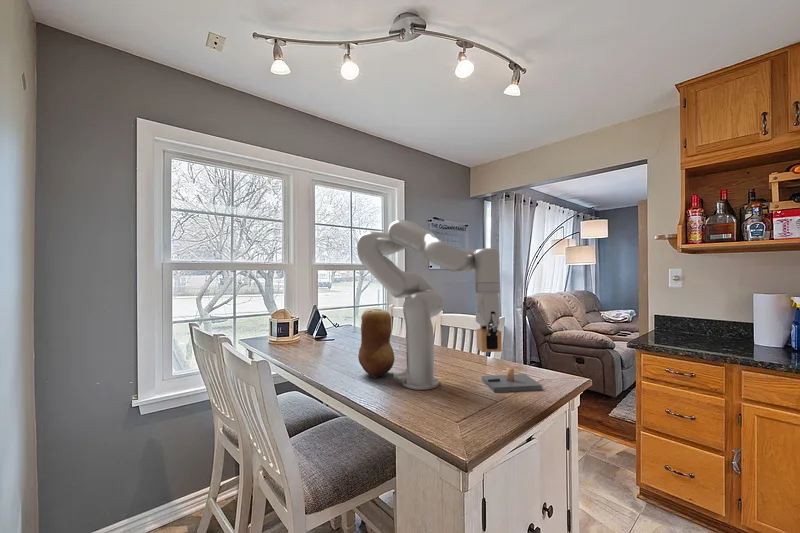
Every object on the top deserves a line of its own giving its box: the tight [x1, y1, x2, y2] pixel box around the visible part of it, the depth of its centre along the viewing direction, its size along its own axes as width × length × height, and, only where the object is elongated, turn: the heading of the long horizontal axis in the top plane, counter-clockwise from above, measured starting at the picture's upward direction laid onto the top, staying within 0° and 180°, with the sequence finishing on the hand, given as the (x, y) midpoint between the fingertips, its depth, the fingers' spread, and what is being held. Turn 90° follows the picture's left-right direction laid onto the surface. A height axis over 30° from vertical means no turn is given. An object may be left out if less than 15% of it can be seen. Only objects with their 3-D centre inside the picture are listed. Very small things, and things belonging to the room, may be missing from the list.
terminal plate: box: [481, 367, 543, 393], centre depth 119 cm, size 16×12×6 cm
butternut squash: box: [358, 308, 395, 378], centre depth 132 cm, size 14×13×25 cm
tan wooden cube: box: [475, 328, 503, 353], centre depth 109 cm, size 6×6×6 cm
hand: (488, 345), depth 109 cm, fingers closed on tan wooden cube, 5 cm apart
